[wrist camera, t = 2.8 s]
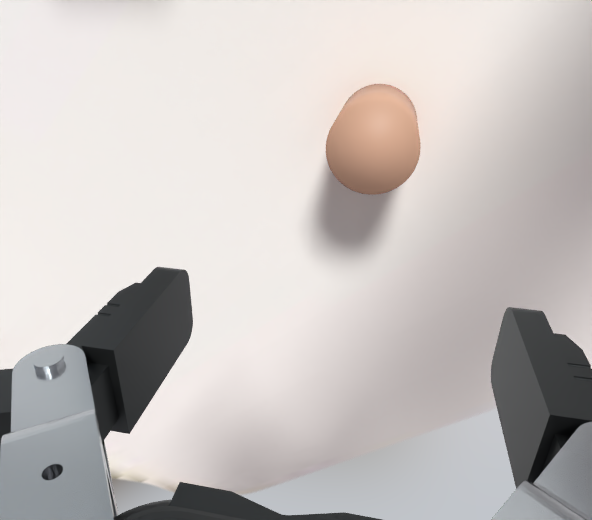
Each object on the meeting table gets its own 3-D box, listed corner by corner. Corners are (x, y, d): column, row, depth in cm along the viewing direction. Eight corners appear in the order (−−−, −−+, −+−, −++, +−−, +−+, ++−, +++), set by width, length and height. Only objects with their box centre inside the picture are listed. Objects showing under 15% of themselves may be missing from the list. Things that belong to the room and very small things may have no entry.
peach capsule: (421, 85, 32) (426, 104, 26) (411, 164, 34) (413, 198, 28) (341, 82, 33) (328, 99, 27) (337, 159, 35) (323, 190, 29)
